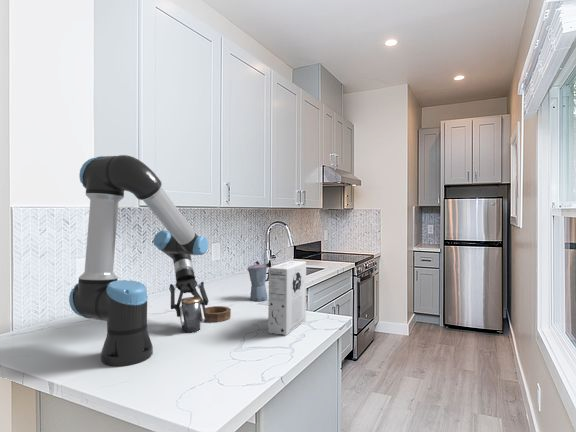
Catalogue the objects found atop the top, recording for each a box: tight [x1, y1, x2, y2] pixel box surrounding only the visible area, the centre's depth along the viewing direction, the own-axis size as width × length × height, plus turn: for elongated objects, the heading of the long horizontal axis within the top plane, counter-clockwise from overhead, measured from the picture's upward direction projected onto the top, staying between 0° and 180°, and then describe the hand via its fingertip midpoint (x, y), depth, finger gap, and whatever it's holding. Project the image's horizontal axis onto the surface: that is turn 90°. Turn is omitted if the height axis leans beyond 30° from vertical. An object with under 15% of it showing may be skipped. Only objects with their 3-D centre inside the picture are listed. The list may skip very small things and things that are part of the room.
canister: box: [181, 296, 202, 334], centre depth 144 cm, size 7×7×12 cm
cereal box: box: [267, 260, 307, 336], centre depth 150 cm, size 22×8×25 cm, turn 157°
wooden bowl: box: [204, 305, 232, 323], centre depth 160 cm, size 12×12×4 cm
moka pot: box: [246, 260, 272, 302], centre depth 193 cm, size 10×15×20 cm, turn 137°
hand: (193, 322), depth 141 cm, fingers closed on canister, 7 cm apart
